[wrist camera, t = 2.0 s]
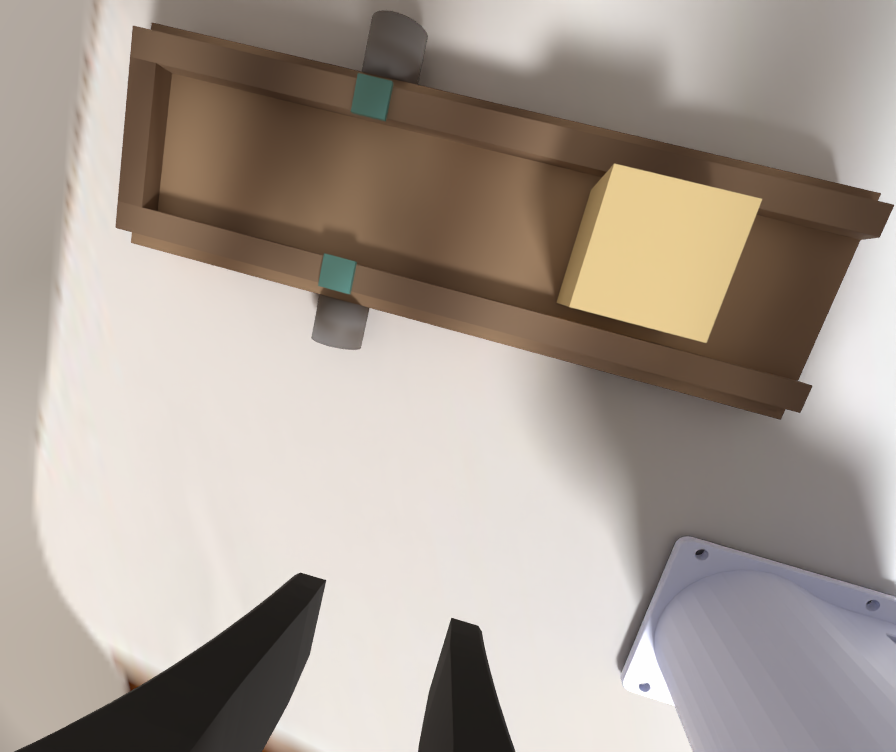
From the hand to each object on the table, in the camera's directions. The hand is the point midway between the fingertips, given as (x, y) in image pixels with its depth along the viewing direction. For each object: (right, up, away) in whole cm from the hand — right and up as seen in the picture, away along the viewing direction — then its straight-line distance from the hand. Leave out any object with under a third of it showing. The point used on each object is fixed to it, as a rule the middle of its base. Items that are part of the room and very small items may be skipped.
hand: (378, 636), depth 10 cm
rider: (+8, +10, +6) cm, 14 cm away
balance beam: (+2, +12, +8) cm, 14 cm away
